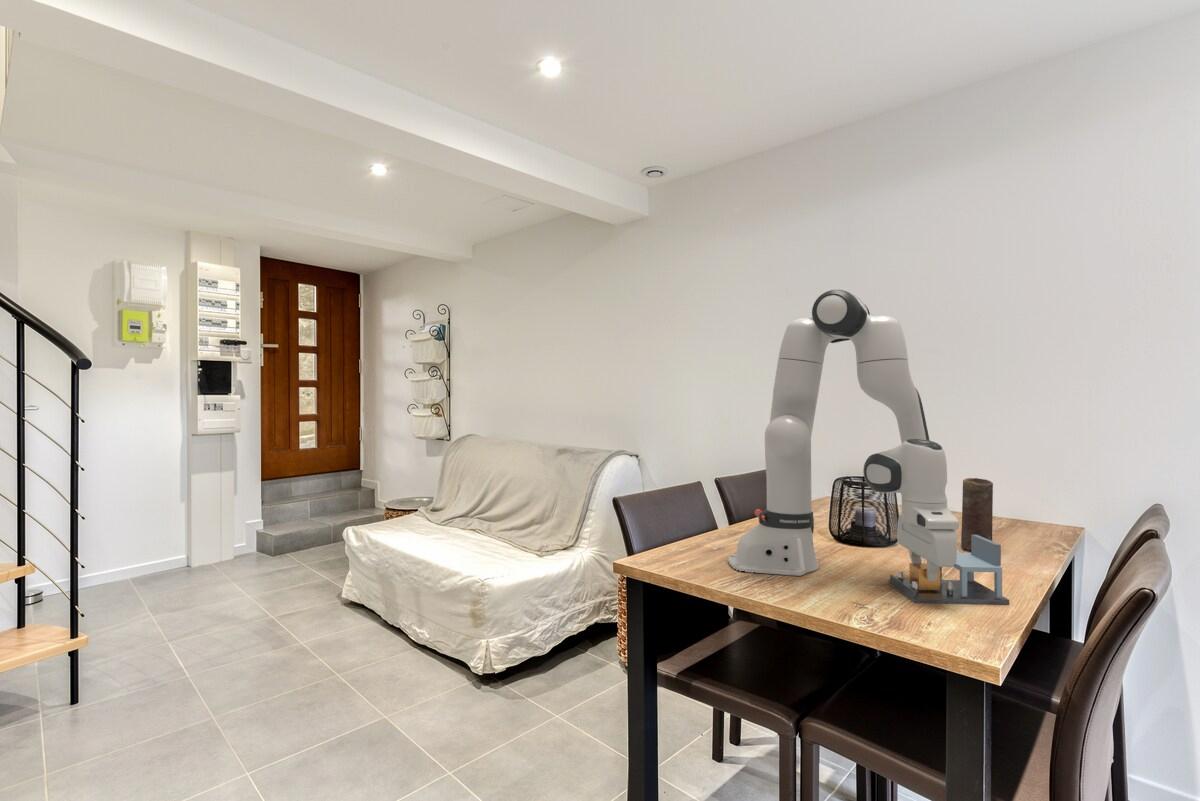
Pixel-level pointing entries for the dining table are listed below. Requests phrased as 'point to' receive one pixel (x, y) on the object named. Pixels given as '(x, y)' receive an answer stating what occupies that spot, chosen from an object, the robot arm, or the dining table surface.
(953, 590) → the base plate
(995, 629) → the dining table surface
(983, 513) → the dark brown cylinder
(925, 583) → the brown block
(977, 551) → the grey miniature chair
